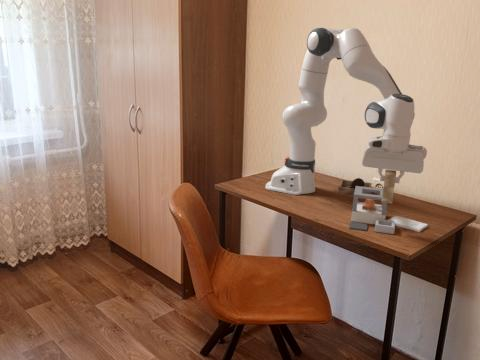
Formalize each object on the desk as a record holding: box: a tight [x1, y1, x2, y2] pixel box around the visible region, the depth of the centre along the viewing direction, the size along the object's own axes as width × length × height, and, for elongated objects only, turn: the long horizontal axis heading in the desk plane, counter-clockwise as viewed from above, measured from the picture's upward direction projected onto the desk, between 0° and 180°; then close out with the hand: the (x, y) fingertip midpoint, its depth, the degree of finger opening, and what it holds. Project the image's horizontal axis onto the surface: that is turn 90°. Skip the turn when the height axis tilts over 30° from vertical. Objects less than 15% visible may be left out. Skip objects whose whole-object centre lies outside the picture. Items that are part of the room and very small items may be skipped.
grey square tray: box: [374, 219, 396, 235], centre depth 167 cm, size 6×6×2 cm
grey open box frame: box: [350, 186, 388, 225], centre depth 176 cm, size 12×12×10 cm
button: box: [364, 198, 376, 210], centre depth 176 cm, size 4×4×4 cm
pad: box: [349, 221, 368, 232], centre depth 168 cm, size 6×6×1 cm
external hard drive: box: [387, 215, 429, 233], centre depth 173 cm, size 2×8×12 cm
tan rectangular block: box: [381, 169, 397, 204], centre depth 163 cm, size 4×4×11 cm
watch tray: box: [337, 179, 372, 196], centre depth 213 cm, size 14×14×2 cm
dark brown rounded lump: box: [347, 177, 365, 189], centre depth 210 cm, size 8×8×7 cm
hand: (389, 181), depth 162 cm, fingers closed on tan rectangular block, 3 cm apart
